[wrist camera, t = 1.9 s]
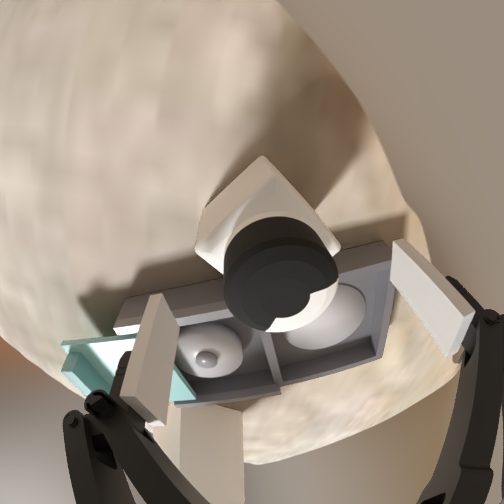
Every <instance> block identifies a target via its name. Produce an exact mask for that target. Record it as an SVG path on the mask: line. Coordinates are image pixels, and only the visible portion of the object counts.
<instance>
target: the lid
mask: <svg viewBox="0 0 504 504" xmlns="http://www.w3.org/2000/svg"><path fill="white" fill-rule="evenodd" d="M136 336H137V333H133V334H125V335H116V336H108V337H99V338H90V339H80V340H69V341H63V342H62V344H61V347H62V348H63V349H64V351H65V352H66V353H67V354H68V356H67V358H66V360H65V363H64V365H63V367H62V370H61V372H62V373H63V374H64V375H65V376H66V378H67V379H68V380H69V381H70V382H71V383H72V384H73V385H74V386H75V387H76V388H77V389H78V390H80V391H81V392H82V393H83V394H84V395H85V396H86V397H87V396H88V395H89V394H90V393H91V392H92V391H94V390H98V389H101V390H104V391H105V392H106V393H107V394H108V395H109V393H110V389H111V386H112V383H113V379H114V376H115V372H116V369H117V366H118V363H119V360H120V358H121V357H122V355H123V354H124V352H125V351H132V349H133V346H134V342H135V339H136ZM195 399H196V393H195V392H194V390H193V389H192V388H191V386H190V385H189V384H188V382H187V381H186V379H185V378H184V377H183V375H182V374H181V372H180V371H179V369H178V368H177V367H176V365H175V364H174V368H173V375H172V382H171V389H170V397H169V401H183V400H195Z"/></svg>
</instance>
